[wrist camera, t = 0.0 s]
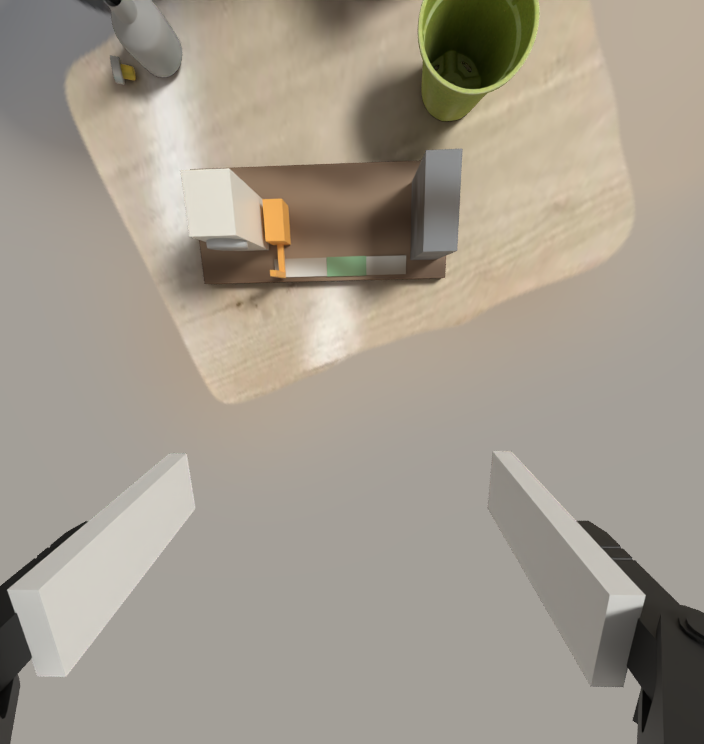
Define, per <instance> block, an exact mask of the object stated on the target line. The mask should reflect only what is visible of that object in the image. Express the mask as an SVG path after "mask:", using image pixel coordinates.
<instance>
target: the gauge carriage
mask: <svg viewBox="0 0 704 744" xmlns="http://www.w3.org/2000/svg"><path fill="white" fill-rule="evenodd" d="M180 172H181V179H182V186H183V194H184V201H185V208H186V216H187V223H188V231H189V237H192V238H195V239H198V240H201V241H204V242H206V244H207V248H208V249H213V250H224V251H255V250H269V243H268V242H266V239H265V227H264V214H263V202H262V198H261V197H260V196H259V195H258V194H256V193H255V192H254V191H253V190H252V189H251V188H250V187H249V186H248V185H247V184H246V183H245V182H244V181H242V180H241V179H240V178H239V177H238V176H237V175H236V174H235V173H234V172H233V171H232V170H231V169H229V168H225V169H199V170H180Z"/></svg>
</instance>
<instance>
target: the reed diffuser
mask: <svg viewBox="0 0 704 744" xmlns="http://www.w3.org/2000/svg"><path fill="white" fill-rule="evenodd" d="M103 1H104V2H105V3H106V4H107V5H108V7H109V8H110V9H111V10H112V14H111V19H112V25H113V29H114V31H115V34H116V36H117V38H118V39H119V41H120V43H121V44H122V45H123V46H124V48H125V49H126V50H127V51H128V52H129V53H130V54H131V55H132V56H133V57H134V58H135V59H136V60H137V61H138V62H139V63H140V64H141V65H142V66H143V67H145V68H146V69H147V70H148V71H149V72H150V73H152V74H153V75H155V76H158V77H169V76H171V75H173V74H174V73H175V72H176V71H177V70H178V68H179V66H180V64H181V61H182V48H181V44H180V41H179V39H178V37H177V36H176V34H175V32H174V31H173V29H172V28H171V26H170V25H169V23H168V22H167V20H166V19H165V17H164V16H163V14H162V13H161V11H160V10H159V9H158V7H157V6H156V5H155V4H154V3H153V2H152V1H151V0H103ZM110 60H111V67H112V71H113V75H114V79H115V81H116V83H119V84H124V85H125V79H129V80H136V75H135V70H134V68H133V67H132V66H128V65H124V64H121V61H120V58H119V57H116V56H111V55H110Z"/></svg>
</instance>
